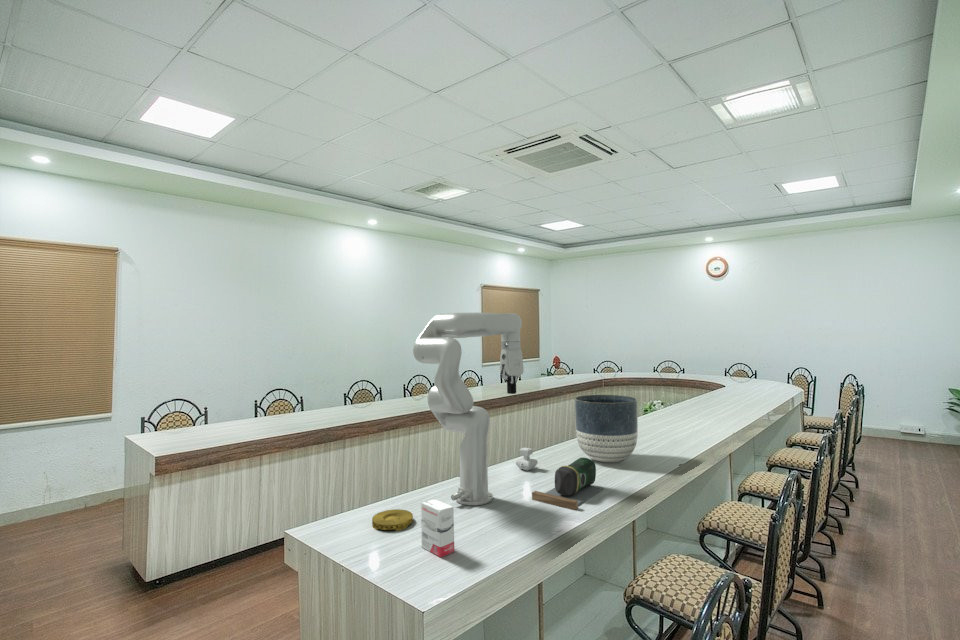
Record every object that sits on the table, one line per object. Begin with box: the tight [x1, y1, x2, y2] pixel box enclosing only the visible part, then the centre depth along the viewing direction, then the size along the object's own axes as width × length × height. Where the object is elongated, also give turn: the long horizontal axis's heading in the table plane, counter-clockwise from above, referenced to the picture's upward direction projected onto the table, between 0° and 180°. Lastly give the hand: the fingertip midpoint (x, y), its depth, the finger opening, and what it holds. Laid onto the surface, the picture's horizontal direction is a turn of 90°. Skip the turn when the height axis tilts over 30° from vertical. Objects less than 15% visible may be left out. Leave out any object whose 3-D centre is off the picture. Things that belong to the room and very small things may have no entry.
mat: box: [545, 484, 604, 506], centre depth 162 cm, size 21×14×1 cm, turn 141°
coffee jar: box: [554, 457, 597, 496], centre depth 164 cm, size 10×8×19 cm
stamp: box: [515, 447, 538, 472], centre depth 192 cm, size 9×7×8 cm
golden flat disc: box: [371, 508, 414, 532], centre depth 139 cm, size 12×12×2 cm
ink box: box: [420, 498, 455, 558], centre depth 122 cm, size 8×5×12 cm, turn 43°
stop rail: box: [531, 490, 579, 511], centre depth 153 cm, size 2×16×2 cm, turn 51°
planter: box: [574, 394, 639, 463], centre depth 204 cm, size 27×27×27 cm
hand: (511, 393), depth 180 cm, fingers closed
